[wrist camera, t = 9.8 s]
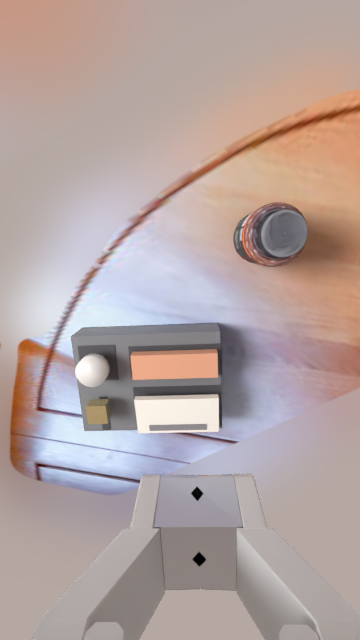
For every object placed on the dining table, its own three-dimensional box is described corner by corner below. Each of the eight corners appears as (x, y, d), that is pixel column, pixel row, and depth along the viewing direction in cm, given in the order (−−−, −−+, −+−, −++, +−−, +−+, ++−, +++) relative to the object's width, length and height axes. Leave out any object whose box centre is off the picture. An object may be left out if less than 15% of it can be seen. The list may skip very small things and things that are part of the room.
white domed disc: (108, 353, 35) (104, 357, 33) (111, 381, 36) (108, 386, 34) (77, 353, 35) (73, 358, 34) (81, 382, 36) (77, 387, 34)
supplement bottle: (289, 248, 36) (331, 250, 25) (244, 271, 37) (266, 282, 26) (270, 202, 35) (305, 183, 24) (224, 226, 36) (238, 218, 25)
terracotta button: (216, 349, 35) (217, 353, 34) (217, 372, 36) (218, 377, 35) (132, 351, 36) (130, 356, 34) (134, 374, 36) (132, 379, 35)
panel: (218, 322, 39) (221, 331, 35) (219, 411, 42) (222, 428, 38) (82, 327, 40) (70, 336, 36) (94, 414, 43) (84, 431, 39)
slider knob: (111, 395, 37) (105, 405, 35) (113, 412, 38) (107, 423, 36) (92, 395, 38) (85, 406, 35) (94, 412, 38) (88, 424, 36)
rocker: (217, 392, 36) (218, 398, 35) (218, 425, 38) (219, 432, 36) (135, 394, 36) (133, 400, 35) (139, 426, 38) (137, 433, 37)
